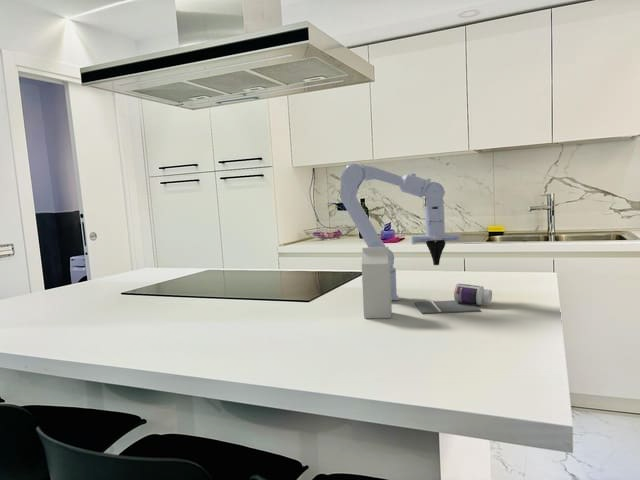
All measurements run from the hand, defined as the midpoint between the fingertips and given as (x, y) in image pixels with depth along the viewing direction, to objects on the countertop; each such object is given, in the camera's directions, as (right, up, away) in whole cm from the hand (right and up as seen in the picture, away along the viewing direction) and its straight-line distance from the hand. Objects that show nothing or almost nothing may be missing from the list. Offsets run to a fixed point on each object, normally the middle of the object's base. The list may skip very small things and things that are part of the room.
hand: (436, 264), depth 154 cm
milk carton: (-20, -13, -17) cm, 30 cm away
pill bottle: (+4, -8, -8) cm, 12 cm away
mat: (0, -12, -12) cm, 17 cm away
